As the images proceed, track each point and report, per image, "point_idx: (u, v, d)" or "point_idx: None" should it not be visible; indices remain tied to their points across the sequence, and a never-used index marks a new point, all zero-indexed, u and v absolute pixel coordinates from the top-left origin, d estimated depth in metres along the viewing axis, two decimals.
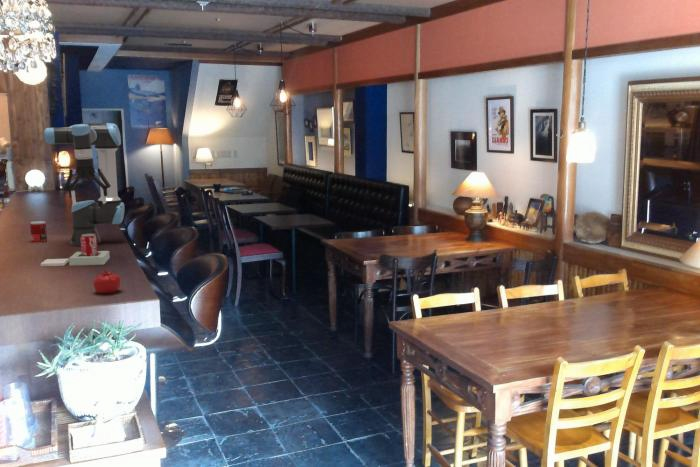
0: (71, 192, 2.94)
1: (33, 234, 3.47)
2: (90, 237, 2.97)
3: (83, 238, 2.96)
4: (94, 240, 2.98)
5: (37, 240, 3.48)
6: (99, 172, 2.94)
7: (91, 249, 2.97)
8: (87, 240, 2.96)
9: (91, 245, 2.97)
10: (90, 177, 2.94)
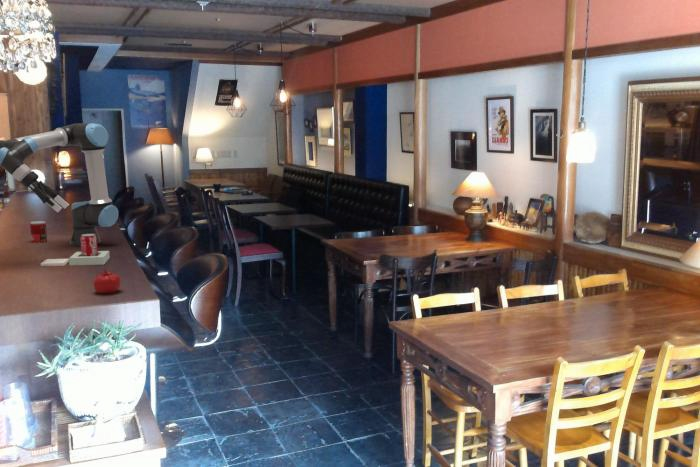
0: None
1: (33, 234, 3.47)
2: (90, 237, 2.97)
3: (83, 238, 2.96)
4: (94, 240, 2.98)
5: (37, 240, 3.48)
6: None
7: (91, 249, 2.97)
8: (87, 240, 2.96)
9: (91, 245, 2.97)
10: None
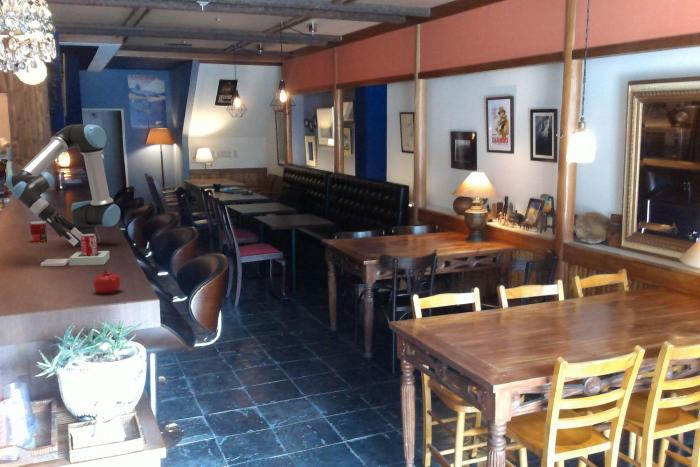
0: (71, 232, 3.03)
1: (33, 234, 3.47)
2: (90, 237, 2.97)
3: (83, 238, 2.96)
4: (94, 240, 2.98)
5: (37, 240, 3.48)
6: None
7: (91, 249, 2.97)
8: (87, 240, 2.96)
9: (91, 245, 2.97)
10: None
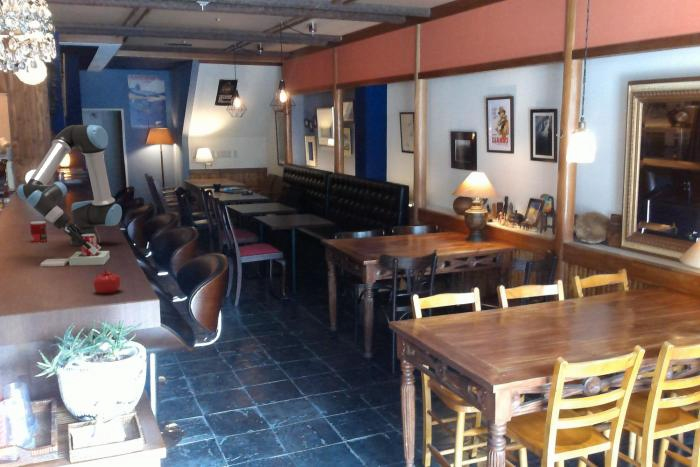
0: None
1: (33, 234, 3.47)
2: (90, 237, 2.97)
3: None
4: (94, 240, 2.98)
5: (37, 240, 3.48)
6: None
7: None
8: (87, 240, 2.96)
9: None
10: None
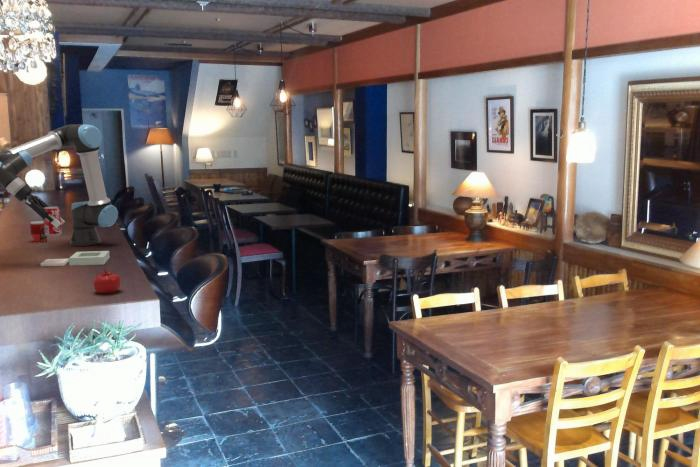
0: None
1: (33, 234, 3.47)
2: (52, 210, 2.90)
3: None
4: (57, 213, 2.91)
5: (37, 240, 3.48)
6: None
7: None
8: (49, 213, 2.89)
9: None
10: None
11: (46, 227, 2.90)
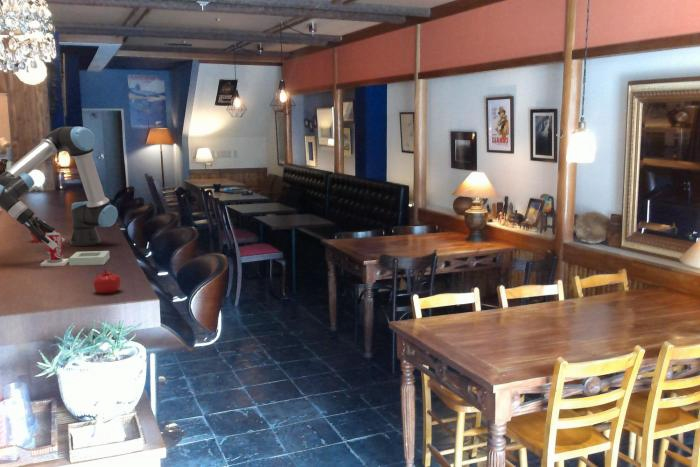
0: None
1: (33, 234, 3.47)
2: (54, 236, 2.91)
3: None
4: (58, 239, 2.93)
5: (37, 240, 3.48)
6: None
7: (55, 249, 2.92)
8: (51, 239, 2.91)
9: None
10: None
11: (48, 253, 2.92)
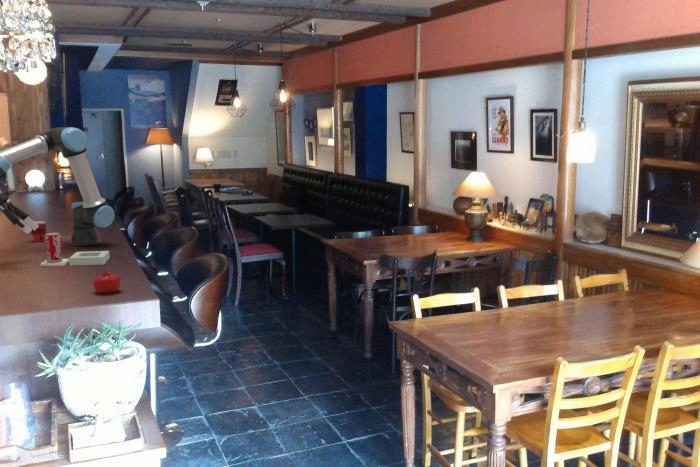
0: (24, 221, 2.98)
1: (33, 234, 3.47)
2: (54, 236, 2.92)
3: (47, 237, 2.91)
4: (58, 239, 2.93)
5: (37, 240, 3.48)
6: None
7: (54, 249, 2.92)
8: (51, 239, 2.91)
9: (54, 245, 2.92)
10: None
11: (47, 253, 2.92)
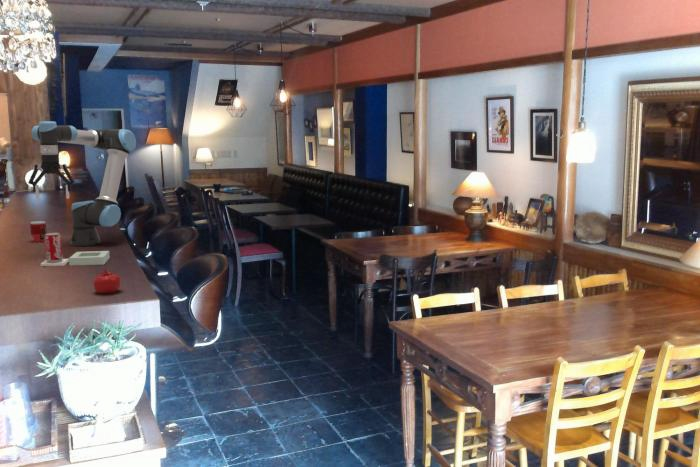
0: (35, 186, 3.03)
1: (33, 234, 3.47)
2: (54, 236, 2.92)
3: (47, 237, 2.91)
4: (58, 239, 2.93)
5: (37, 240, 3.48)
6: (64, 168, 3.04)
7: (54, 249, 2.92)
8: (51, 239, 2.91)
9: (54, 245, 2.92)
10: (55, 172, 3.04)
11: (47, 253, 2.92)
